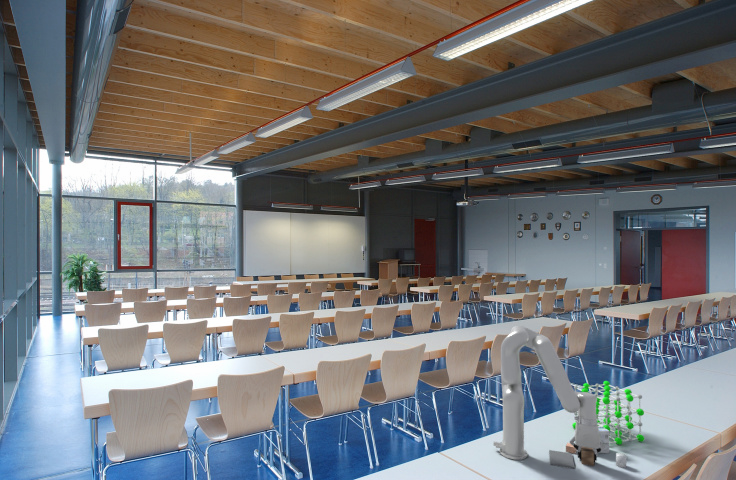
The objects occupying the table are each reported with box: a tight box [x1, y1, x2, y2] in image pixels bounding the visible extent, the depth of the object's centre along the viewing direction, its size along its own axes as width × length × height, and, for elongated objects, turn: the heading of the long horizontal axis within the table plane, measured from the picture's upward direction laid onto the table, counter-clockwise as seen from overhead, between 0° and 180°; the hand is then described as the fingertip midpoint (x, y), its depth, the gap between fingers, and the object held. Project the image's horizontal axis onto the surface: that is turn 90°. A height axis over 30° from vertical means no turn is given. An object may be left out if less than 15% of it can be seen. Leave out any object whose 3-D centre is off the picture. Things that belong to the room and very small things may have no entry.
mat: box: [548, 449, 575, 470], centre depth 205 cm, size 10×14×1 cm
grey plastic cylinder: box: [615, 452, 627, 469], centre depth 200 cm, size 4×4×5 cm
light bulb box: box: [593, 425, 610, 454], centre depth 215 cm, size 11×7×11 cm, turn 92°
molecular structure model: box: [572, 380, 645, 446], centre depth 233 cm, size 24×25×24 cm
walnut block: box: [580, 447, 595, 467], centre depth 203 cm, size 5×5×6 cm
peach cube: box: [565, 442, 578, 454], centre depth 214 cm, size 4×4×3 cm
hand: (587, 460), depth 203 cm, fingers closed on walnut block, 5 cm apart
